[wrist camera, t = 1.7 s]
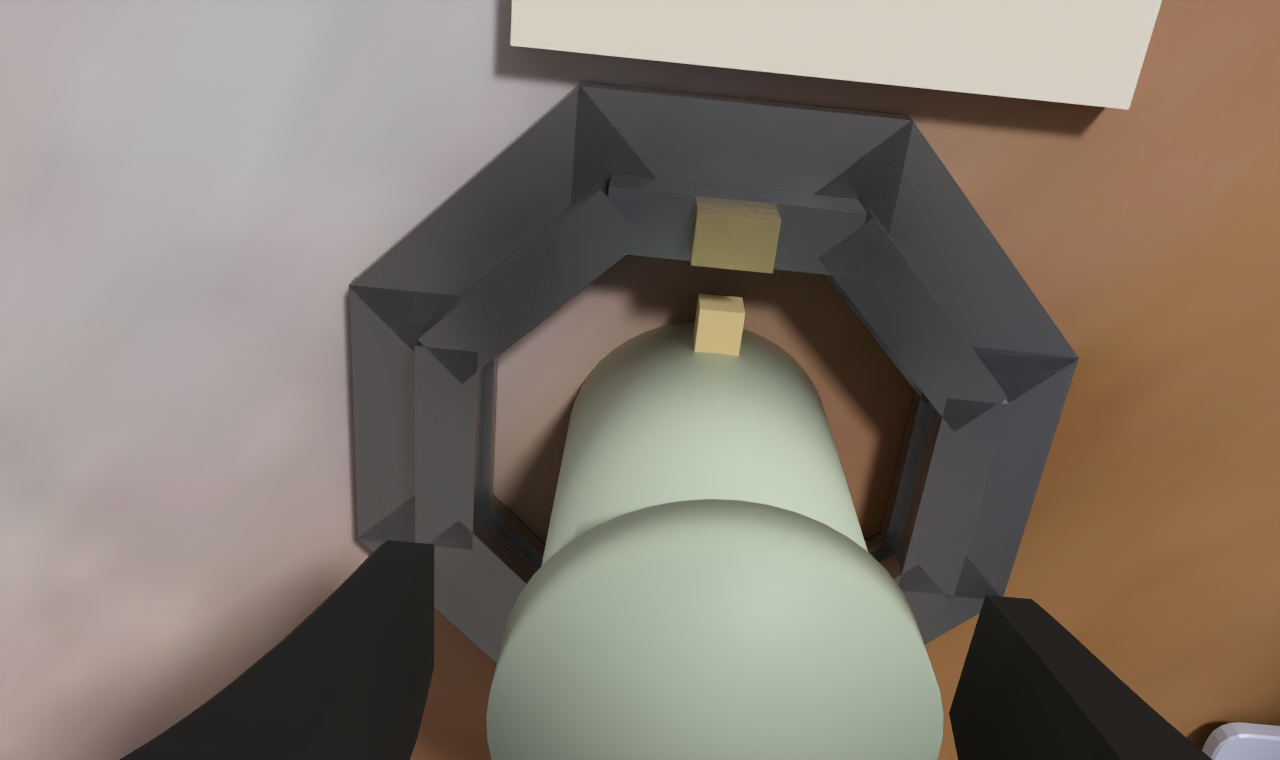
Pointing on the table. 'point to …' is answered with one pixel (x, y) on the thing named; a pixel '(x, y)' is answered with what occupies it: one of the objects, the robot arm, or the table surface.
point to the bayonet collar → (719, 238)
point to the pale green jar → (708, 575)
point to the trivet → (872, 40)
